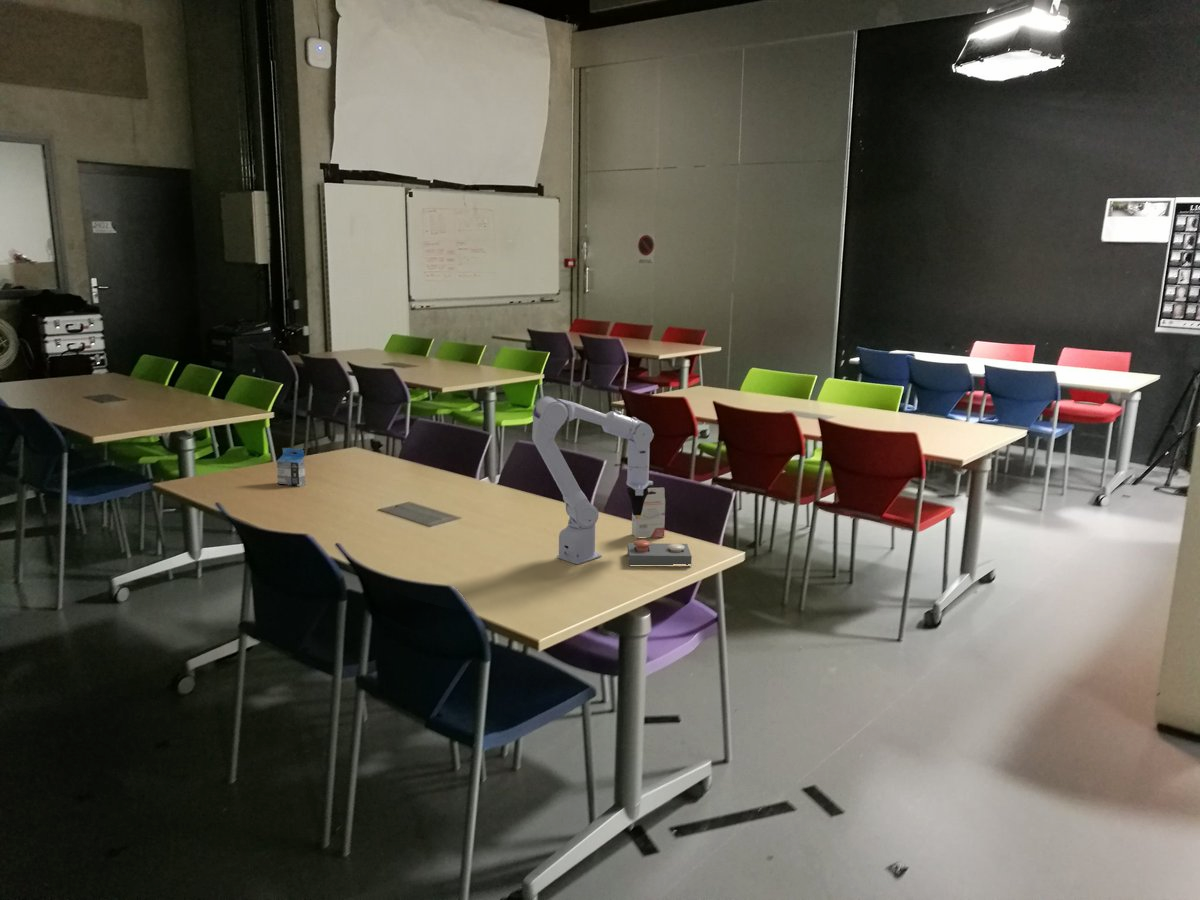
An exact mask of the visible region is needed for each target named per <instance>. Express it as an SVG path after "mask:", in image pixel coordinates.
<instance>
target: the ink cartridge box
mask: <svg viewBox="0 0 1200 900" xmlns="http://www.w3.org/2000/svg"><path fill="white" fill-rule="evenodd" d="M647 488H648V487H647ZM650 492H652V494H649V493H650ZM665 493H666V492H665V487H649V488H648V495H647V496H646V498H645V501H644V504H643V509H642V513H641V515H633V512H631V514H632V515H631V535H632V534H633V535H634V536H633V535H632V536H633V537H634V538H636V537H637V538H639V537H656V538H661V537H660V536H664V537H665V524H666V522H665V521H666V520H665V518H666V498H665V496H666V495H665ZM637 538H636V539H637Z"/></svg>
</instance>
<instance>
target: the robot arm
mask: <svg viewBox="0 0 1200 900" xmlns="http://www.w3.org/2000/svg"><path fill="white" fill-rule="evenodd" d="M531 415H532V429H531V430H532V432H531V436H532V437H531V439H532V442H533V443H534V445H535V447H536V450H537V451H538V453H539V455H540V456H541V458H542V460H543V461H544V464H545V465H546V467H547V469H548V471H549V473H550V474H551V477H552V478H553V481H554V482H555V483H556V486H557V487H558V489H559V491H560V493H561V495H562V499H563V501H564V504H565V512H566V514H567V515H568V516H569V519H568V521H567V526H566V527H565V528H563V529H562V530H561V531H560V532H559V534H558V554H557V555H556V558H559V559H561V560H563V561H567V562H570V563H572V564H575V565H579V564H583V563H586V562H589V561H592V560H594V559H597V558H601V557H603V555H602V554H601V553H597V552H596V524H597V521H598V520H599V510H598V508H597V507H596V506H594V505H593V504H591V503H590V501H589V500H588V498H587V496H586V495H585V493H584V492H583V491H582V489H581V488H580V486H579V484H578V482H577V480H576V478H575V476H574V475H573V472H572V471H571V469H570V467H569V465H568V463H567V461H566V459H565V458H564V456H563V454H562V452H561V451H560V448H559V447H558V445H557V442H556V441H555V437H556V435H557V433H558V431H559V430H560V429H561V427H562V426H564V424H565V423H566V421H568V422H571V421H573V420H575V419H579V420H582V421H586V422H589V423H592V424H596V425H599V426H601V428H602V430H603V432H605V433H607V434H610V435H612V436H617V437H619V438H623V439H626V440H628V443H627V445H628V446H627V472H626V473H627V475H626V476H627V477H626V485H627V486H628V487H627V488H626V491H627V494H628V497H629V500H630V504H631V511H632V512H633V515H641V513H642V509H643V504H644V501H645V498H646V496H647V495H648V494H649V492H648V486H653V485H654V481H652V480H649V477H650V471H649V470H650V451H651V450H650V447H651V446H650V443H651V442H652V440H653V439H654V436H655V434H654V432H653V428H652V427H651V426H650V424H648V423H647V422H644V421H642V420H640V419H638V418H637V417H635V416H632V417H629V416H627V415H624V414H623V413H622V411H619V410H617V409H615V411H614V410H613V411H612V410H610V411H609V412H607V413H603V412H600V411H597V410H595V409H592V408H590V407H586V406H584V405H582V404H579V403H577V402H574V401H570V400H566V399H561V398H556V399H555V398H554V397H553V396H549V395H546V396H542V397H540V398H538V399H537V401H536V402H535V404H534V407H533V409H532V411H531ZM632 512H631V513H632Z"/></svg>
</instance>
